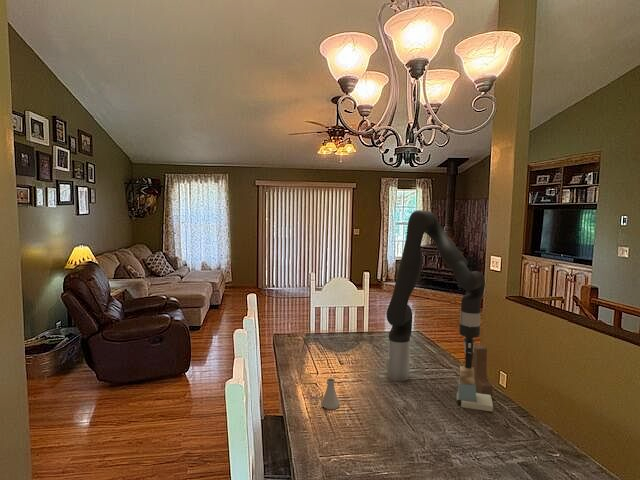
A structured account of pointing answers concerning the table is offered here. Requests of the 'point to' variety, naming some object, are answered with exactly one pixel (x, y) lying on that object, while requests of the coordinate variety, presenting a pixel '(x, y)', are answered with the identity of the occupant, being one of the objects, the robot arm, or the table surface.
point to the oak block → (466, 375)
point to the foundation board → (478, 402)
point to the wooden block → (481, 370)
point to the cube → (467, 391)
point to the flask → (330, 396)
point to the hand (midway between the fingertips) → (468, 364)
